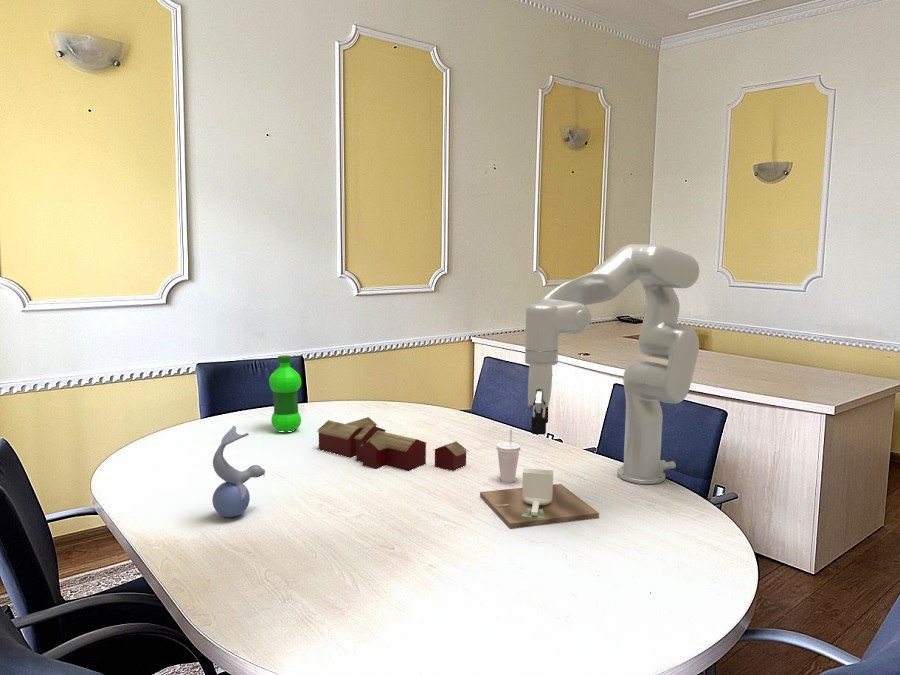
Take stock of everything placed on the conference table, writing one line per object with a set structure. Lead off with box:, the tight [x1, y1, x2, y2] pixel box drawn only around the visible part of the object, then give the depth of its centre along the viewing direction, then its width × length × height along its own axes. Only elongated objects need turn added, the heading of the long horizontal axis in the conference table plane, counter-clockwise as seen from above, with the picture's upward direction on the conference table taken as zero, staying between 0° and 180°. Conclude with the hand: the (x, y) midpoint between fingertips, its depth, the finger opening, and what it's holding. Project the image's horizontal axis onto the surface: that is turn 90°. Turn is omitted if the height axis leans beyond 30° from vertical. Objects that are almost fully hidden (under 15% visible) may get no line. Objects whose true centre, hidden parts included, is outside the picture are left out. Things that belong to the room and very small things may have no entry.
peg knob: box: [521, 467, 554, 516], centre depth 162 cm, size 14×7×7 cm, turn 169°
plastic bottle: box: [268, 354, 302, 432], centre depth 228 cm, size 10×10×25 cm
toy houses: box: [316, 416, 469, 472], centre depth 202 cm, size 45×20×10 cm, turn 54°
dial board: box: [479, 483, 600, 530], centre depth 166 cm, size 22×20×1 cm
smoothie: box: [496, 428, 522, 484], centre depth 183 cm, size 6×6×14 cm
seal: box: [212, 425, 266, 518], centre depth 159 cm, size 8×12×20 cm
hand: (540, 428), depth 164 cm, fingers open, 9 cm apart
